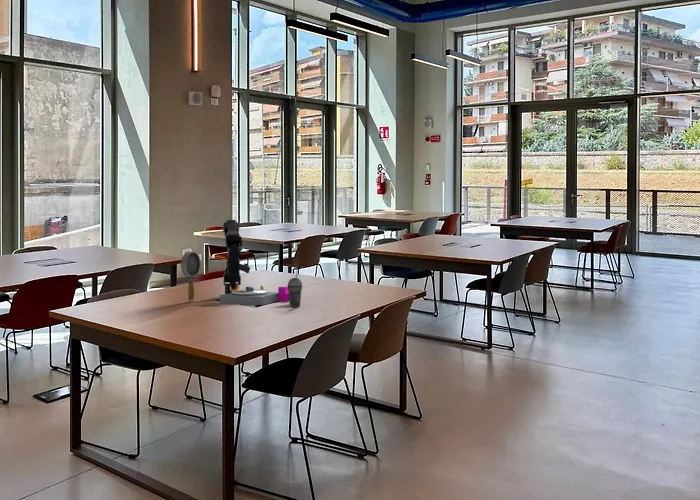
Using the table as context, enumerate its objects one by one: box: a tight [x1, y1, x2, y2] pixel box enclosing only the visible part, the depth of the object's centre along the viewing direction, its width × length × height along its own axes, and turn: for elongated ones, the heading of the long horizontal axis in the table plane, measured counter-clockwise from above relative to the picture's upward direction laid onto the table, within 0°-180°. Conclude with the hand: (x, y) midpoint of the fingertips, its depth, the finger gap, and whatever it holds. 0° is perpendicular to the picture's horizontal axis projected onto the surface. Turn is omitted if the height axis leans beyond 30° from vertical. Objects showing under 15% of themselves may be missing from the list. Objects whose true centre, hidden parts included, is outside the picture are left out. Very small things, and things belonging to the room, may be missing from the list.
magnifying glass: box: [180, 251, 201, 302], centre depth 330 cm, size 13×3×25 cm, turn 160°
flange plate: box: [230, 285, 269, 295], centre depth 325 cm, size 20×18×4 cm
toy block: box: [277, 284, 290, 303], centre depth 334 cm, size 15×6×8 cm, turn 164°
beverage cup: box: [287, 268, 303, 309], centre depth 313 cm, size 7×7×20 cm
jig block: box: [219, 291, 279, 306], centre depth 326 cm, size 23×23×4 cm
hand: (233, 289), depth 324 cm, fingers closed
